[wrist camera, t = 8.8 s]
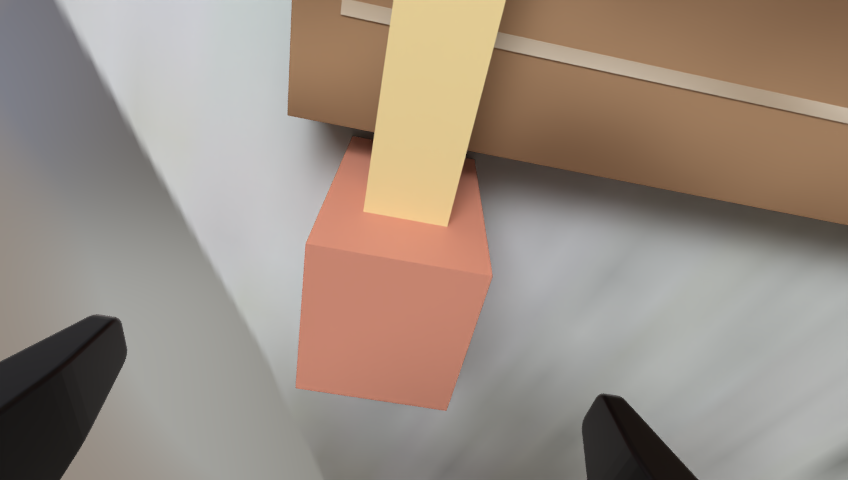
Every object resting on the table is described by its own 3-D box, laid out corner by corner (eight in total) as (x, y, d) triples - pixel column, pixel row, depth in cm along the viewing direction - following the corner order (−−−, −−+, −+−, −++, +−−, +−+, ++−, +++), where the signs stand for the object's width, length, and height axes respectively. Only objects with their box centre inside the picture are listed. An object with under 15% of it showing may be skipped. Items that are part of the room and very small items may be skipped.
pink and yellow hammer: (444, 270, 16) (446, 410, 11) (338, 252, 15) (295, 388, 11) (595, -289, 9) (774, -546, 4) (408, -341, 8) (370, -682, 4)
